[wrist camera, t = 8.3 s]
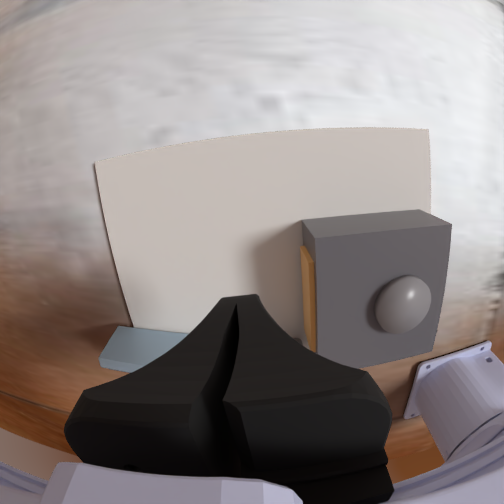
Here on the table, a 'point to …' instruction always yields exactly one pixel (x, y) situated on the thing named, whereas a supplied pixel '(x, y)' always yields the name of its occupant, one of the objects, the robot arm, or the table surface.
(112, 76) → the table surface
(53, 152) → the table surface
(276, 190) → the mat
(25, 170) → the table surface
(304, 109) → the table surface
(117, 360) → the side door
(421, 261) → the camera housing
